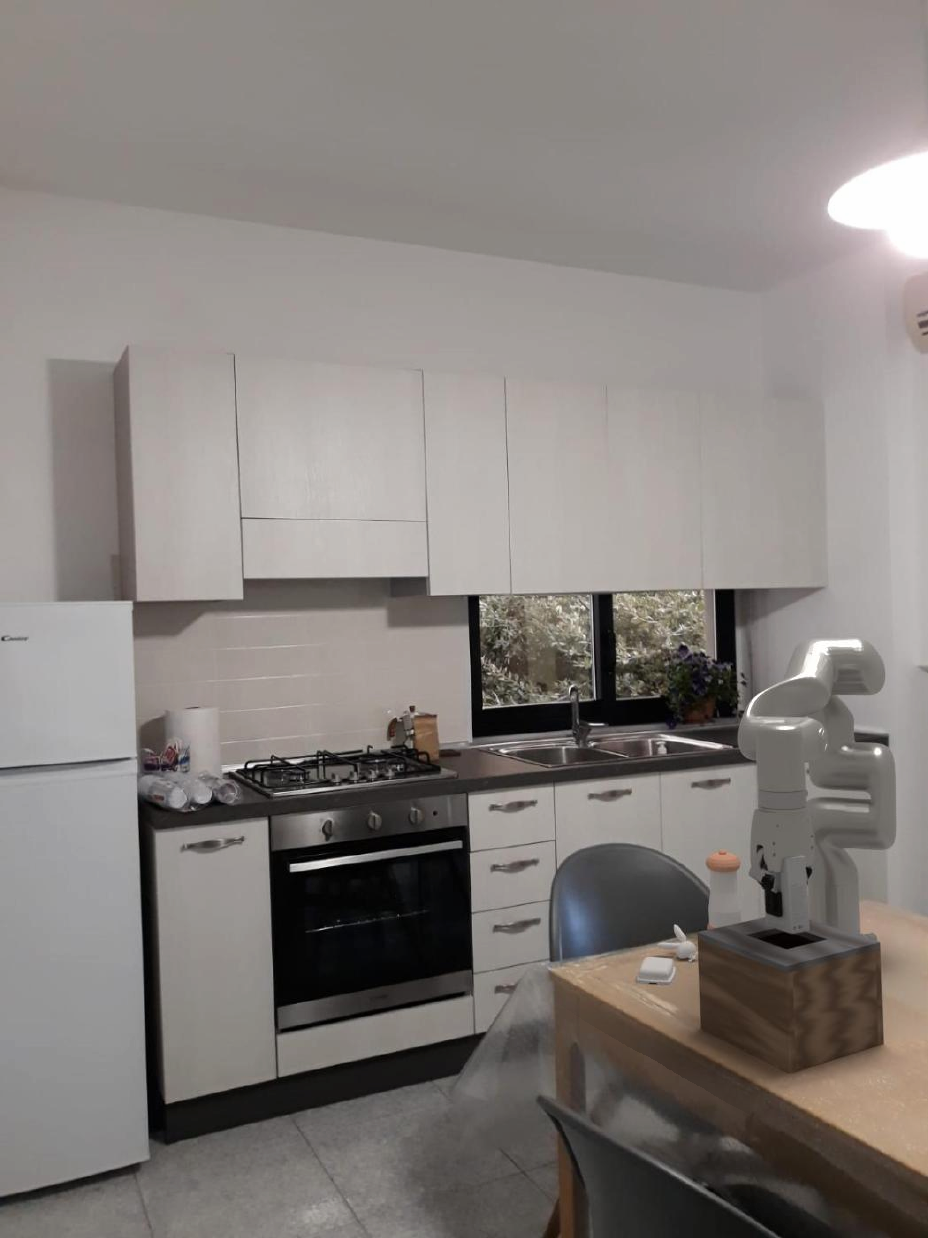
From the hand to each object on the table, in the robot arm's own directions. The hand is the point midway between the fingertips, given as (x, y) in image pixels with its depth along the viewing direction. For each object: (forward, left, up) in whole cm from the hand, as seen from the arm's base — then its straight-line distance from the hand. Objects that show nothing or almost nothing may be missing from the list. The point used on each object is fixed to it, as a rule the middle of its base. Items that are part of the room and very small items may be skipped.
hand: (785, 911), depth 170 cm
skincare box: (0, 0, -3) cm, 3 cm away
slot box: (0, 0, -20) cm, 20 cm away
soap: (+1, -34, -21) cm, 40 cm away
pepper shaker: (-24, -42, -20) cm, 52 cm away
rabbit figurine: (-10, -40, -20) cm, 46 cm away
